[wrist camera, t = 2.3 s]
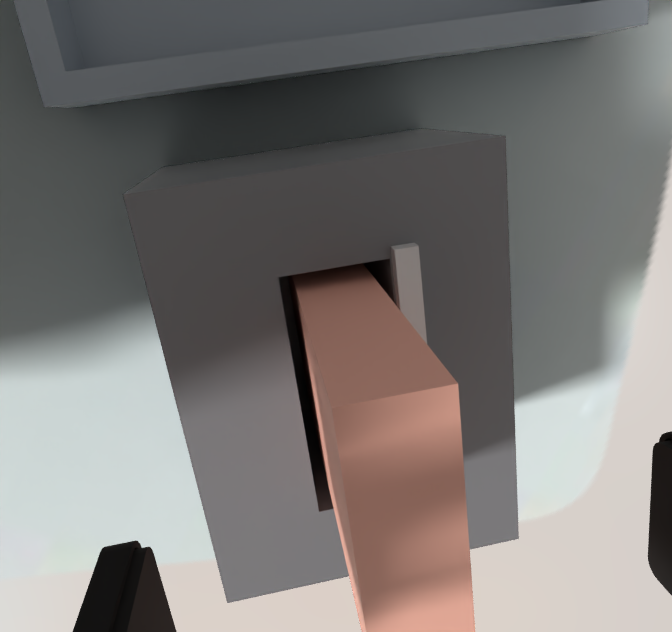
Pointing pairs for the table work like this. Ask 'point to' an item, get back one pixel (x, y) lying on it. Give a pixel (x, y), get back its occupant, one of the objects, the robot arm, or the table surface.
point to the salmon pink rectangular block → (387, 452)
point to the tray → (276, 38)
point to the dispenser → (281, 333)
